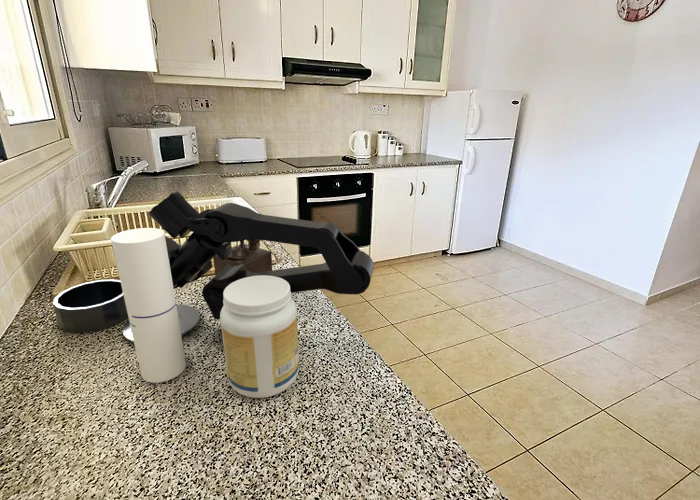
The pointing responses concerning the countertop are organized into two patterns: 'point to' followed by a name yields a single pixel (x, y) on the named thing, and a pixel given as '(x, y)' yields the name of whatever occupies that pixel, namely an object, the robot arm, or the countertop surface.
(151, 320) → the cylindrical container
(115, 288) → the pan
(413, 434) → the countertop surface
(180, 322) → the pan lid
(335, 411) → the countertop surface
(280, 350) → the supplement tub
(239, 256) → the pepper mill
